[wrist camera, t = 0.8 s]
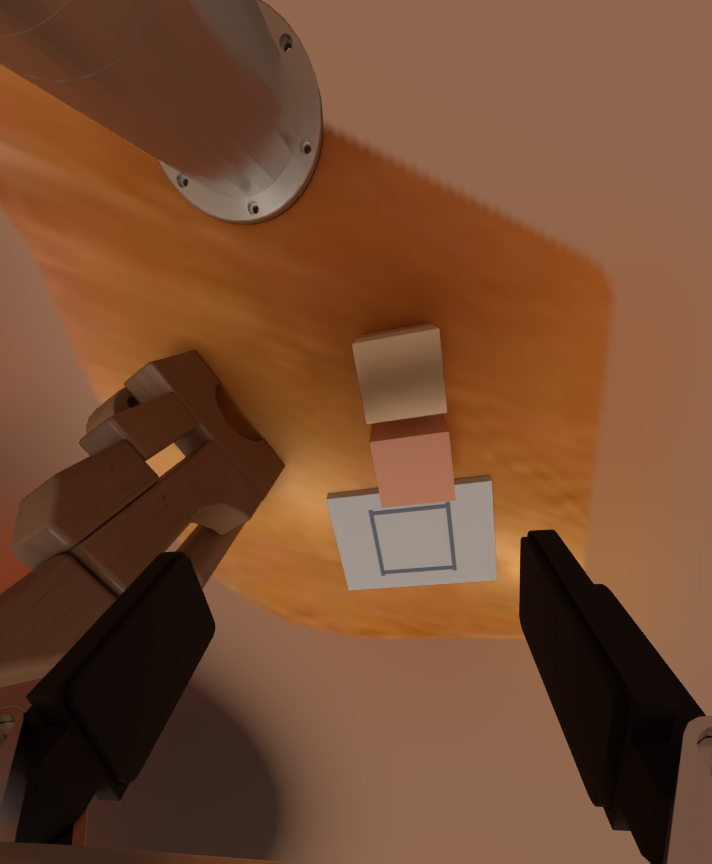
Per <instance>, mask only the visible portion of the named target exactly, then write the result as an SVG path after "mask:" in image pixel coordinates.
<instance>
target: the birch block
mask: <svg viewBox="0 0 712 864" xmlns="http://www.w3.org/2000/svg"><path fill="white" fill-rule="evenodd" d="M352 349H353V354H354V360H355V365H356V370H357V376H358V381H359V387H360V392H361V397H362V403H363V408H364V414H365V419H366V424H372V423H379V422H386V421H393V420H400V419H407V418H414V417H421V416H428V415H435V414H442V413H447V404H446V393H445V383H444V372H443V362H442V352H441V341H440V331H439V328H438V327H436V326H435V325H433V324H431V323H425V324H419V325H414V326H408V327H403V328H398V329H392V330H387V331H381V332H376V333H370V334H365V335H360V336H358V337H357V338H356V340H355V341H354V342H353V343H352Z"/></svg>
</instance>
